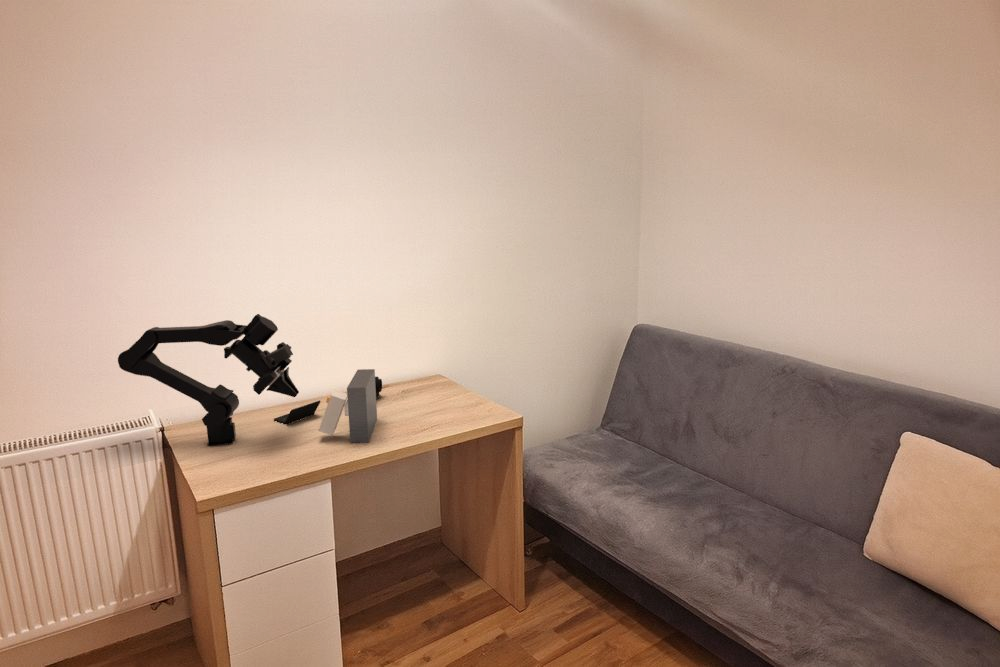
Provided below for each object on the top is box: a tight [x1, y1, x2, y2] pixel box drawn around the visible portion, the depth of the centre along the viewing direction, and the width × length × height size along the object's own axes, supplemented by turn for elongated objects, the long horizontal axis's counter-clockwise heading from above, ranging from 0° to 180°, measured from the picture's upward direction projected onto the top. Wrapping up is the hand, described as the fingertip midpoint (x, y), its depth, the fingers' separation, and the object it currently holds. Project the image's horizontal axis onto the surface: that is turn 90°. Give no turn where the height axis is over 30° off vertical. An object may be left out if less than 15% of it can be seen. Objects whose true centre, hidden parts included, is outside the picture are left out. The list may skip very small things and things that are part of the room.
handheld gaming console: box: [273, 400, 322, 425], centre depth 197 cm, size 12×7×10 cm
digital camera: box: [375, 376, 383, 400], centre depth 213 cm, size 10×5×7 cm, turn 176°
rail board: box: [343, 368, 378, 444], centre depth 186 cm, size 6×18×16 cm, turn 3°
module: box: [317, 389, 348, 436], centre depth 180 cm, size 5×5×11 cm
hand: (297, 394), depth 179 cm, fingers closed
